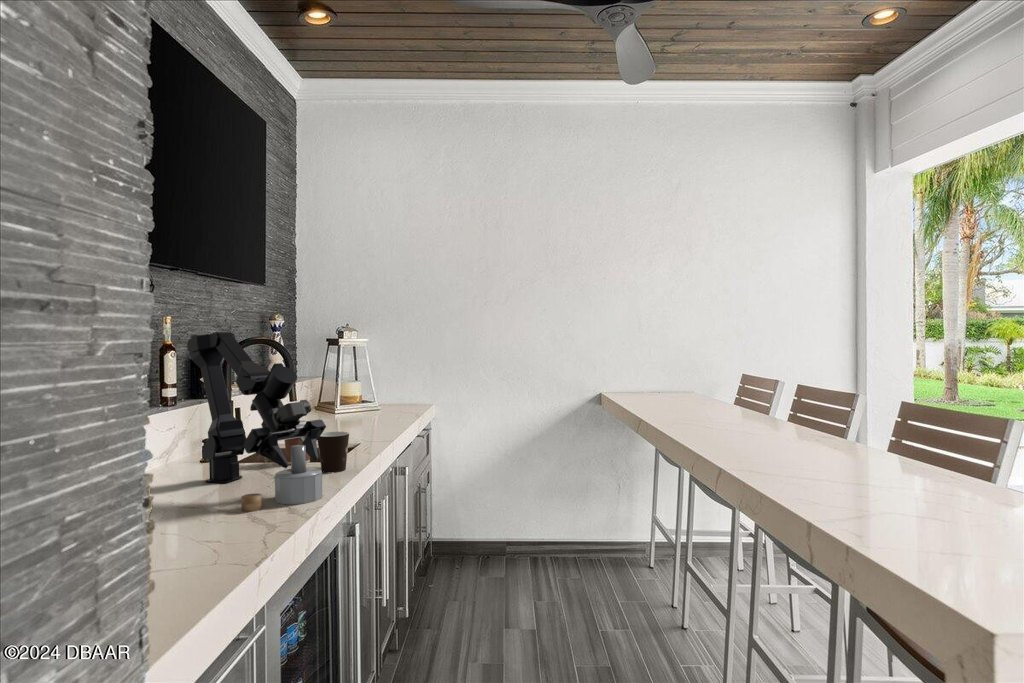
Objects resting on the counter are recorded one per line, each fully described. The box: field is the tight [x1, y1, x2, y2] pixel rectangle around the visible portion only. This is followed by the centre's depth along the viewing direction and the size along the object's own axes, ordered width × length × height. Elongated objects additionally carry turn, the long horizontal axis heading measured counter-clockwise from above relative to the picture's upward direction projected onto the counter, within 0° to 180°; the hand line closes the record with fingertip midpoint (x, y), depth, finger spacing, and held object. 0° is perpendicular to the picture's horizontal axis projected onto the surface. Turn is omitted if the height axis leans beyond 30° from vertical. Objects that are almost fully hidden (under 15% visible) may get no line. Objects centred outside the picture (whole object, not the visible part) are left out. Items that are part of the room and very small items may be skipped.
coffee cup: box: [284, 419, 311, 465], centre depth 183 cm, size 9×9×12 cm
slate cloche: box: [274, 445, 323, 505], centre depth 142 cm, size 10×10×12 cm
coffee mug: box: [317, 431, 350, 473], centre depth 173 cm, size 12×9×10 cm
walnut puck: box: [240, 493, 263, 513], centre depth 134 cm, size 4×4×3 cm
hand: (302, 463), depth 141 cm, fingers open, 8 cm apart
